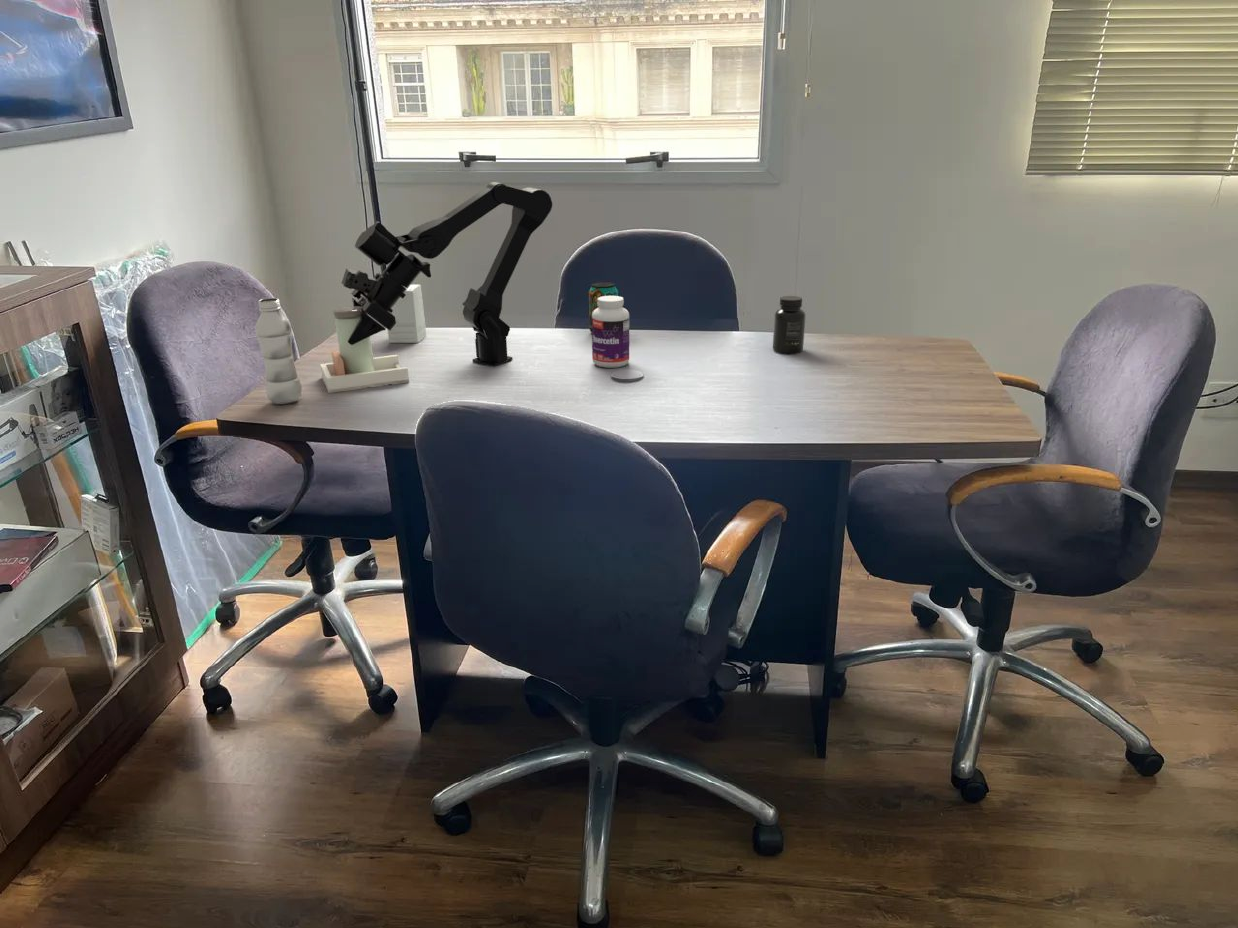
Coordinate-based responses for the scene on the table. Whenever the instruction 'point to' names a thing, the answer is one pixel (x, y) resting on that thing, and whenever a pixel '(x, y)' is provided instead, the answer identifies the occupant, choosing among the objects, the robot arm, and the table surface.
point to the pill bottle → (610, 333)
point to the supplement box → (408, 317)
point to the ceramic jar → (357, 354)
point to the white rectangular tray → (366, 375)
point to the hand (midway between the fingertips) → (347, 339)
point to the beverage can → (599, 295)
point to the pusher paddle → (338, 363)
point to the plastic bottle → (277, 353)
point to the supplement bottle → (789, 326)
